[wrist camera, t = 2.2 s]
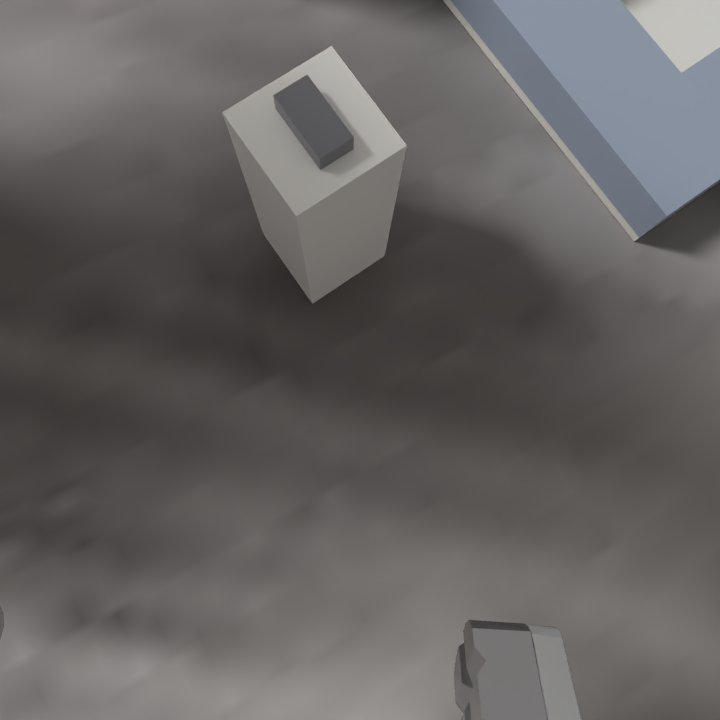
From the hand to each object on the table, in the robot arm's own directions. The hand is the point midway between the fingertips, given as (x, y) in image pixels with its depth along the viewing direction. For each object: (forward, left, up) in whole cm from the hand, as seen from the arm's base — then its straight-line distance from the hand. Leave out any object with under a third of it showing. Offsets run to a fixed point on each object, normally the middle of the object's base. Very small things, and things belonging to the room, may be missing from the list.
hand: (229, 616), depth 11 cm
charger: (-10, +8, -16) cm, 20 cm away
